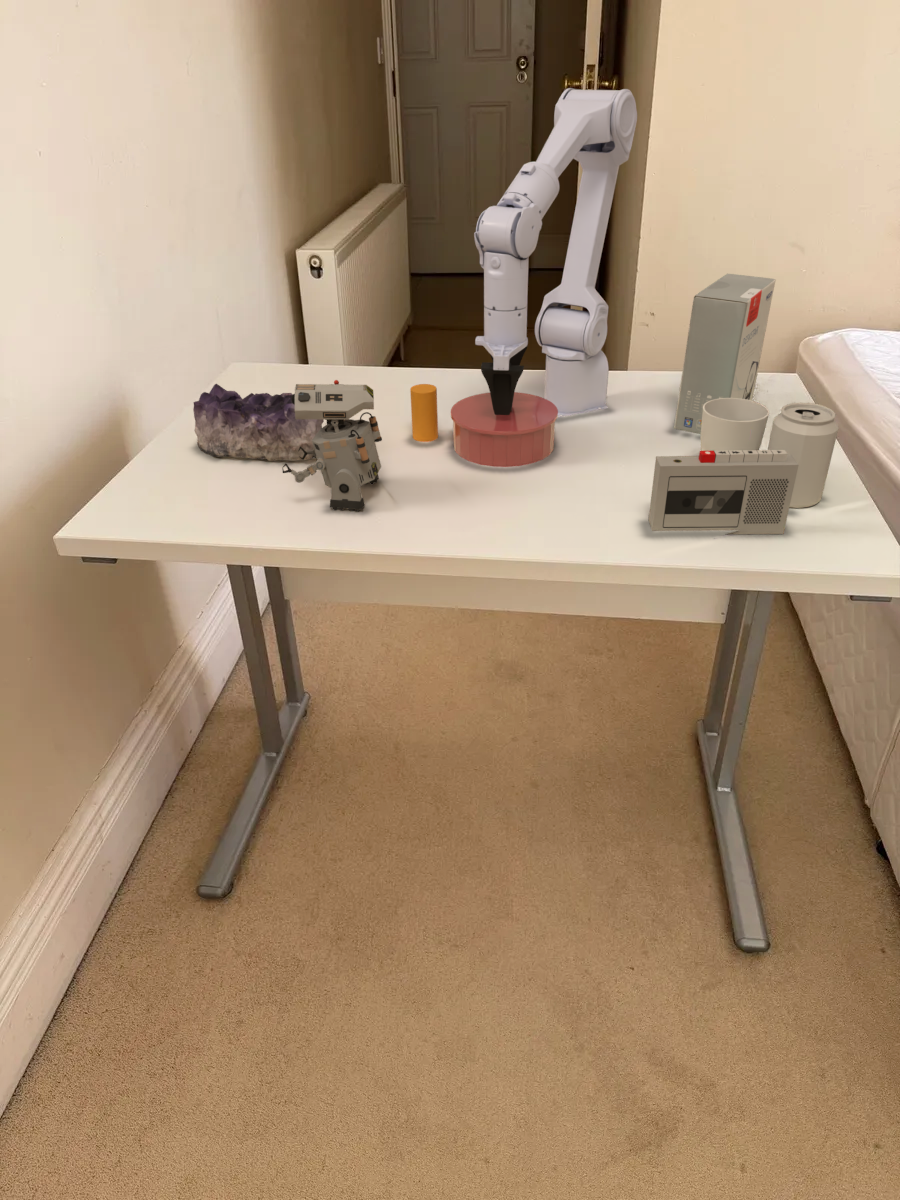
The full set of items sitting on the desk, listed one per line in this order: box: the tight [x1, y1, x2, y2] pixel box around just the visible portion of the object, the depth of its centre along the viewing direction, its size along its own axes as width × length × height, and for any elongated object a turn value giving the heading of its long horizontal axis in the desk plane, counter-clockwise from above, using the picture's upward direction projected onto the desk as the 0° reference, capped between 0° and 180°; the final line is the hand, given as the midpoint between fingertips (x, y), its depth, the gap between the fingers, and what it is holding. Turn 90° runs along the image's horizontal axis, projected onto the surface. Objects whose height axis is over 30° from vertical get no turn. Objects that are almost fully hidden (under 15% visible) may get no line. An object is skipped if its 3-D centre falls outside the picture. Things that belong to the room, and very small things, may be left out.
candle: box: [409, 383, 439, 443], centre depth 126 cm, size 4×4×8 cm
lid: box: [450, 391, 559, 435], centre depth 121 cm, size 15×15×5 cm
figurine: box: [281, 379, 383, 512], centre depth 110 cm, size 9×12×15 cm
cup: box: [699, 398, 770, 451], centre depth 112 cm, size 8×8×10 cm
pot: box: [452, 420, 556, 468], centre depth 124 cm, size 14×14×5 cm
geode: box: [192, 383, 325, 462], centre depth 124 cm, size 20×12×10 cm, turn 84°
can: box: [767, 402, 840, 509], centre depth 107 cm, size 8×8×12 cm
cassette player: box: [648, 449, 799, 535], centre depth 101 cm, size 16×3×10 cm, turn 89°
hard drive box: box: [673, 273, 777, 435], centre depth 127 cm, size 16×8×20 cm, turn 148°
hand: (504, 403), depth 121 cm, fingers open, 7 cm apart
